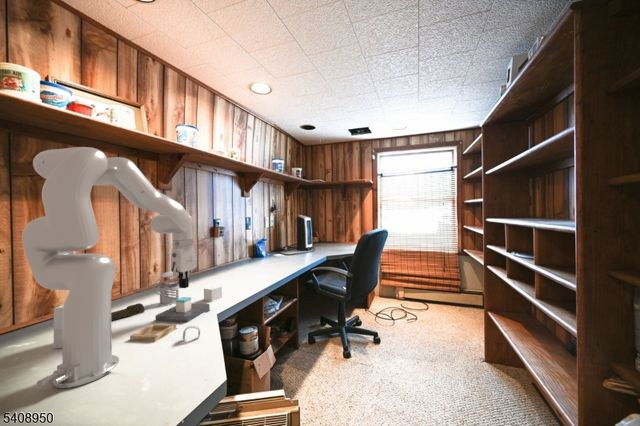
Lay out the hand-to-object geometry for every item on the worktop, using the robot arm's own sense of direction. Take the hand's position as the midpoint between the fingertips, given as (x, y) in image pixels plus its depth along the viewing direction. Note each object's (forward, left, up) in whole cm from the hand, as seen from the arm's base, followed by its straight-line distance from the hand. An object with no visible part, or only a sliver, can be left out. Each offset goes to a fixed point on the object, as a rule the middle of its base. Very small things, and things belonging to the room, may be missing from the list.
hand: (183, 287), depth 102 cm
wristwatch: (-19, -18, -12) cm, 29 cm away
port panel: (0, 0, -12) cm, 12 cm away
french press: (+15, +21, -12) cm, 28 cm away
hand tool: (-5, +28, -13) cm, 31 cm away
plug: (0, 0, -12) cm, 12 cm away
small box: (-23, +23, -12) cm, 35 cm away
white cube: (+22, +1, -12) cm, 25 cm away
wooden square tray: (-17, -2, -12) cm, 21 cm away
